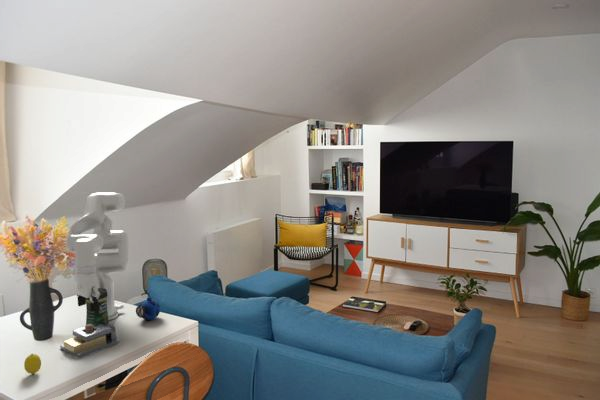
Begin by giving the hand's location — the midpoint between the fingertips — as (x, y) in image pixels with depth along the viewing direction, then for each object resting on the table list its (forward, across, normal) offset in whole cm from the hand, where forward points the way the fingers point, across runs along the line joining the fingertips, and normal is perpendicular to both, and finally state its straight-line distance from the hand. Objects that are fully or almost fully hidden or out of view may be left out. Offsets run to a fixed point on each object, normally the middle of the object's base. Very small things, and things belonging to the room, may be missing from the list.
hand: (88, 308), depth 207 cm
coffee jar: (+17, -13, +11) cm, 24 cm away
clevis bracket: (+16, +1, -1) cm, 17 cm away
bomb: (+17, -4, +32) cm, 37 cm away
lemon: (+16, +7, -27) cm, 32 cm away
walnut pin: (+16, +1, -1) cm, 17 cm away
